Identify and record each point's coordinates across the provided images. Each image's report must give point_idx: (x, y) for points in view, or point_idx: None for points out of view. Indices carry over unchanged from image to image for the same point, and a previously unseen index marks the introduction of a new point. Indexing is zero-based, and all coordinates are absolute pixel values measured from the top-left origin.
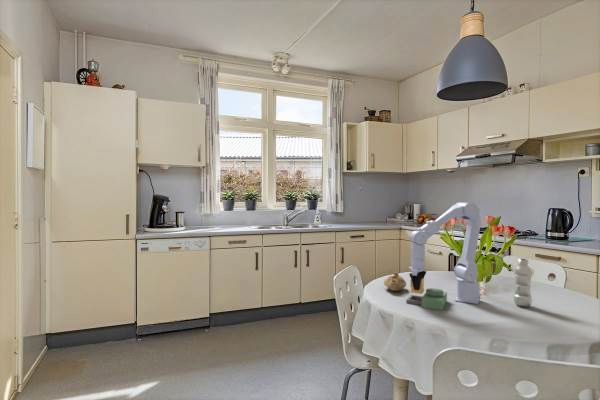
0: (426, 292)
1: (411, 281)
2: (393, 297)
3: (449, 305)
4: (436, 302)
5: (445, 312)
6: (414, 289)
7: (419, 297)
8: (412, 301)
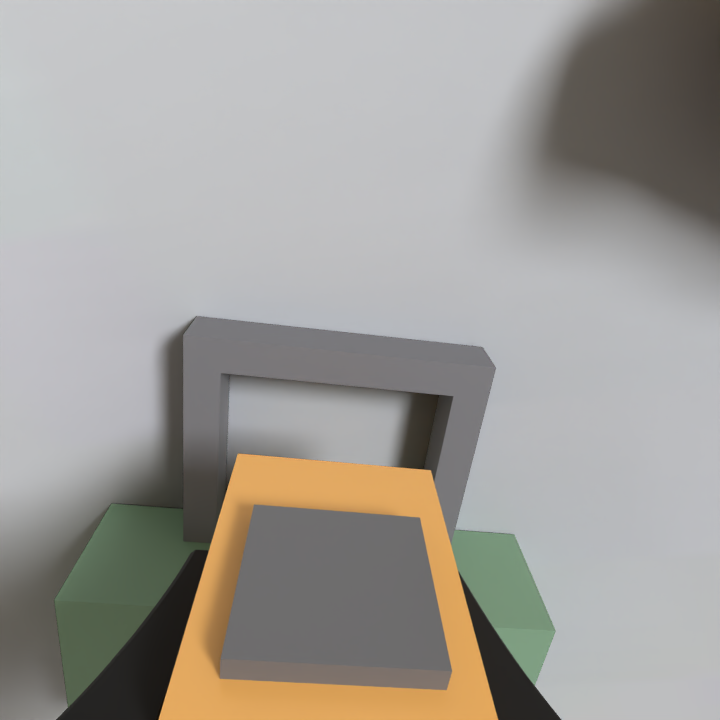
0: None
1: (183, 648)
2: (431, 58)
3: None
4: None
5: None
6: (187, 559)
7: (433, 473)
8: (187, 412)
